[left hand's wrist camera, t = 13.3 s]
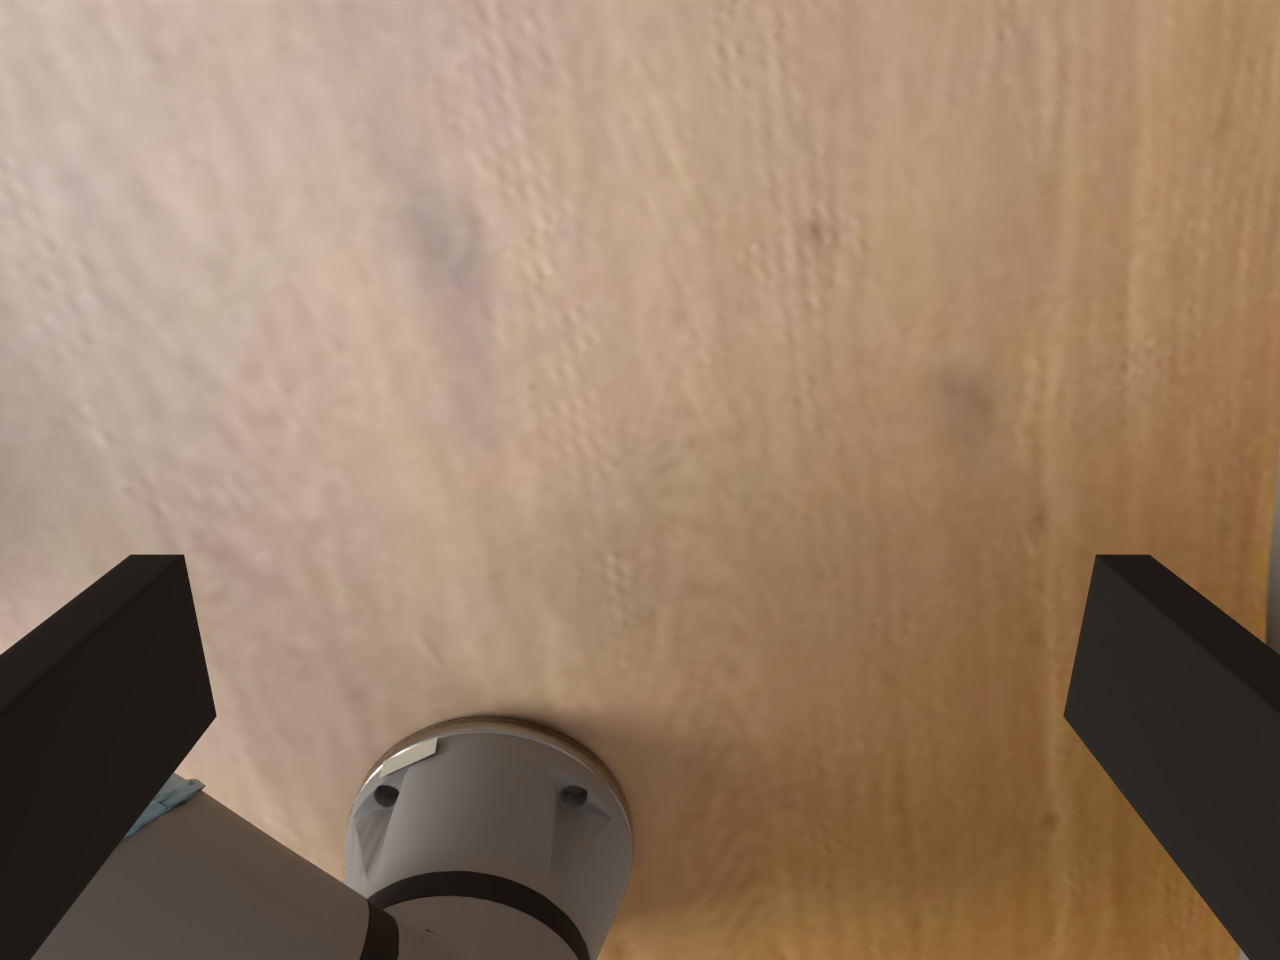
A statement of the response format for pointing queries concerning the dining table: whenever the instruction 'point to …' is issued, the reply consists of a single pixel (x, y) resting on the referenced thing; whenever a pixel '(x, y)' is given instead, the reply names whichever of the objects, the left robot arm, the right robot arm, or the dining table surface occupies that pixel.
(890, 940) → the dining table surface
